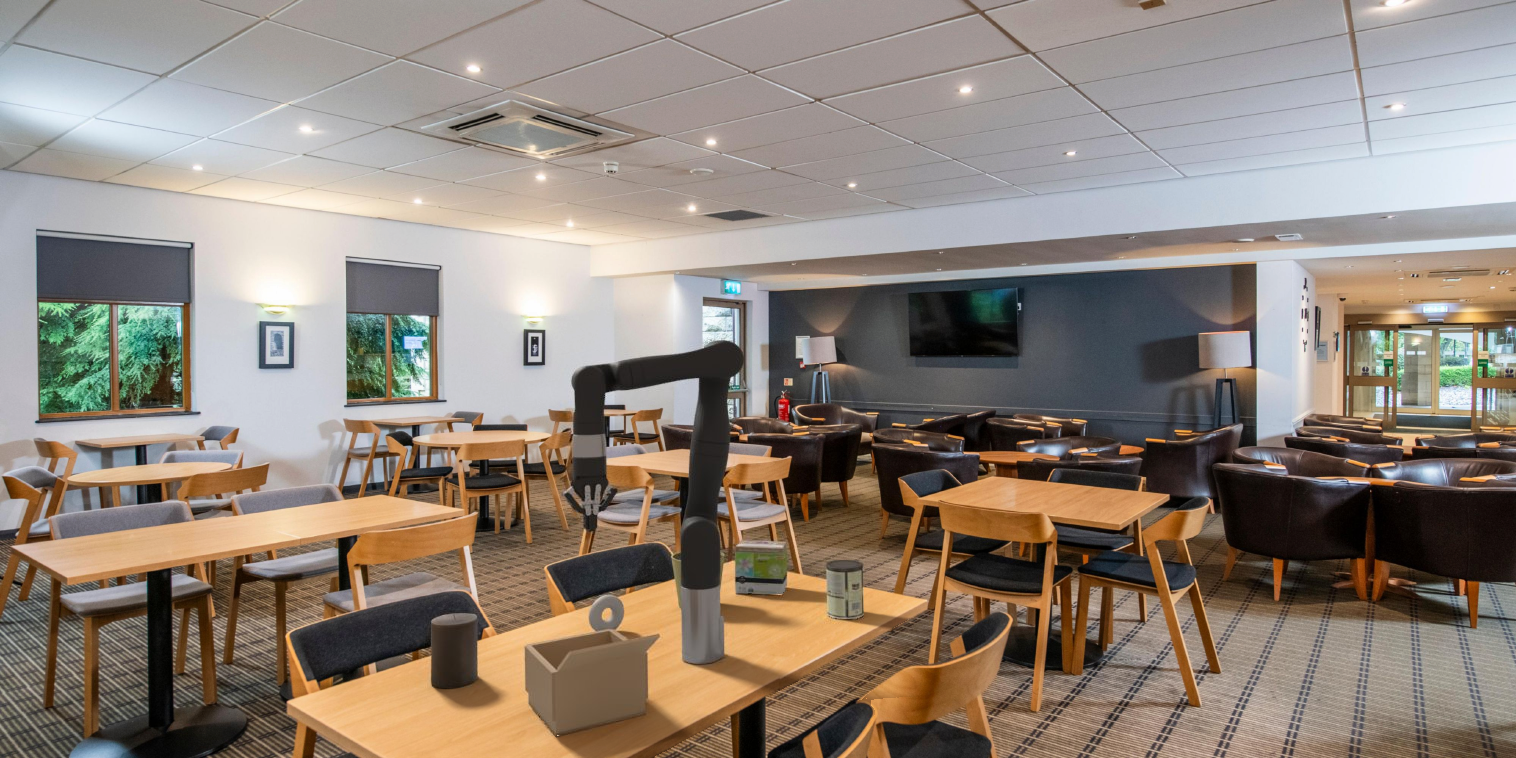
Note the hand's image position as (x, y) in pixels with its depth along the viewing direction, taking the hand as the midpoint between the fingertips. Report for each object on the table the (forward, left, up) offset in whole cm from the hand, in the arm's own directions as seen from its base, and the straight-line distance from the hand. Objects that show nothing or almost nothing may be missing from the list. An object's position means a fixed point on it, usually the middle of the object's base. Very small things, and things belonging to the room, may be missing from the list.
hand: (590, 531), depth 181 cm
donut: (-13, -25, -32) cm, 43 cm away
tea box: (-68, -37, -32) cm, 84 cm away
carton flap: (+8, +31, -17) cm, 36 cm away
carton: (+8, +18, -32) cm, 38 cm away
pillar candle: (+27, -13, -32) cm, 44 cm away
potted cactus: (-44, -33, -32) cm, 64 cm away
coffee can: (-74, -3, -32) cm, 81 cm away
